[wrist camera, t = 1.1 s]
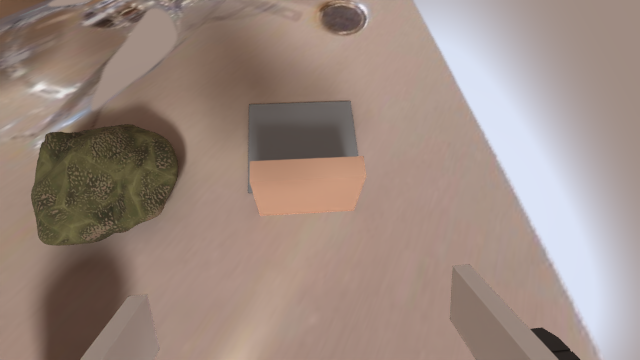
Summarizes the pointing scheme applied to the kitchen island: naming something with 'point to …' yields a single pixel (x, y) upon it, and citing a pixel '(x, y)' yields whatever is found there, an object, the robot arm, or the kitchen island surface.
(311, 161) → the tile
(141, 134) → the decorative rock
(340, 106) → the mat
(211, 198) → the kitchen island surface
